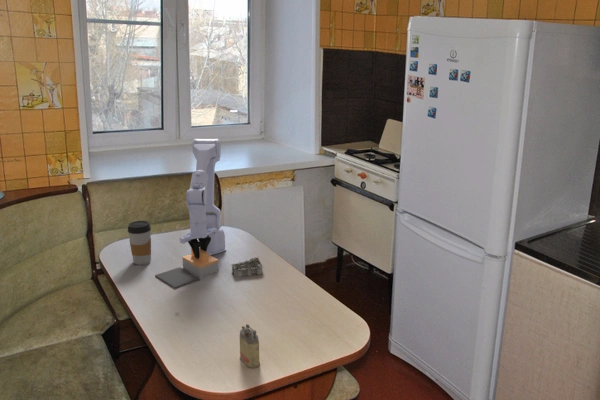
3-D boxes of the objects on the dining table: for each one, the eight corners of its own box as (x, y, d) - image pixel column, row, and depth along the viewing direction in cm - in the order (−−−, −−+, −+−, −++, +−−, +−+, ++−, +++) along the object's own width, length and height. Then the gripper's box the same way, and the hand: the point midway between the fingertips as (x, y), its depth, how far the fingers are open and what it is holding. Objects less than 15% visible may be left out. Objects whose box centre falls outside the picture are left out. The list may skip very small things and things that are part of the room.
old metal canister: (237, 356, 154) (236, 323, 150) (250, 352, 156) (249, 319, 152) (250, 369, 148) (249, 335, 145) (263, 365, 150) (262, 331, 147)
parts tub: (201, 262, 213) (201, 253, 212) (218, 271, 206) (218, 262, 205) (183, 268, 208) (182, 259, 207) (200, 277, 201) (199, 268, 200)
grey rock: (259, 266, 210) (259, 256, 209) (263, 275, 203) (263, 264, 202) (230, 269, 208) (230, 259, 206) (234, 278, 201) (233, 267, 199)
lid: (201, 255, 213) (200, 243, 211) (218, 264, 205) (217, 251, 204) (182, 261, 207) (181, 249, 206) (199, 270, 200) (198, 257, 198)
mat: (179, 268, 208) (179, 267, 208) (199, 279, 199) (199, 278, 199) (155, 276, 201) (155, 275, 201) (174, 288, 192) (174, 287, 192)
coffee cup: (150, 266, 210) (147, 228, 205) (127, 266, 210) (123, 227, 205) (156, 257, 218) (153, 220, 213) (134, 257, 218) (131, 220, 213)
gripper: (186, 229, 194) (188, 265, 198) (221, 219, 203) (223, 254, 207) (175, 223, 199) (178, 259, 203) (210, 214, 208) (211, 249, 212)
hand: (200, 256), depth 206 cm, fingers closed on lid
